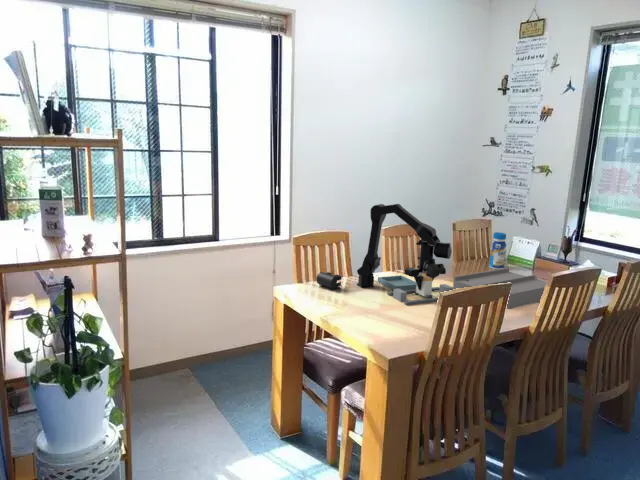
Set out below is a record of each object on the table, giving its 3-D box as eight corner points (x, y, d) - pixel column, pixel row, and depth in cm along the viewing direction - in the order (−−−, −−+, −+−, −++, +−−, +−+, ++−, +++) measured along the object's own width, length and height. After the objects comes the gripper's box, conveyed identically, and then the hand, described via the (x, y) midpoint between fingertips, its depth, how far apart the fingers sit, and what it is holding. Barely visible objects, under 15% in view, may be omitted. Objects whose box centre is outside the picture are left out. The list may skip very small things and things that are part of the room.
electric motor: (315, 286, 236) (316, 272, 235) (326, 284, 241) (327, 270, 240) (330, 291, 229) (331, 277, 228) (341, 288, 234) (342, 274, 233)
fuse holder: (406, 305, 213) (407, 296, 212) (387, 294, 227) (387, 286, 226) (459, 299, 224) (460, 290, 223) (437, 289, 238) (438, 281, 238)
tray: (395, 291, 232) (396, 286, 232) (377, 282, 247) (377, 277, 247) (420, 289, 238) (420, 284, 237) (401, 280, 252) (401, 275, 252)
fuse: (423, 296, 222) (425, 278, 220) (415, 292, 227) (417, 275, 226) (431, 295, 223) (432, 278, 222) (423, 291, 229) (424, 274, 227)
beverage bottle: (493, 265, 292) (497, 231, 288) (507, 268, 285) (510, 233, 281) (485, 267, 286) (489, 232, 282) (498, 270, 280) (502, 235, 276)
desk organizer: (563, 297, 234) (565, 282, 233) (508, 310, 213) (510, 294, 212) (506, 280, 260) (507, 267, 259) (452, 290, 239) (454, 276, 238)
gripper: (419, 261, 211) (416, 296, 214) (455, 258, 219) (452, 292, 222) (404, 255, 221) (402, 289, 224) (439, 252, 229) (436, 285, 231)
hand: (423, 289), depth 225 cm, fingers closed on fuse, 4 cm apart
